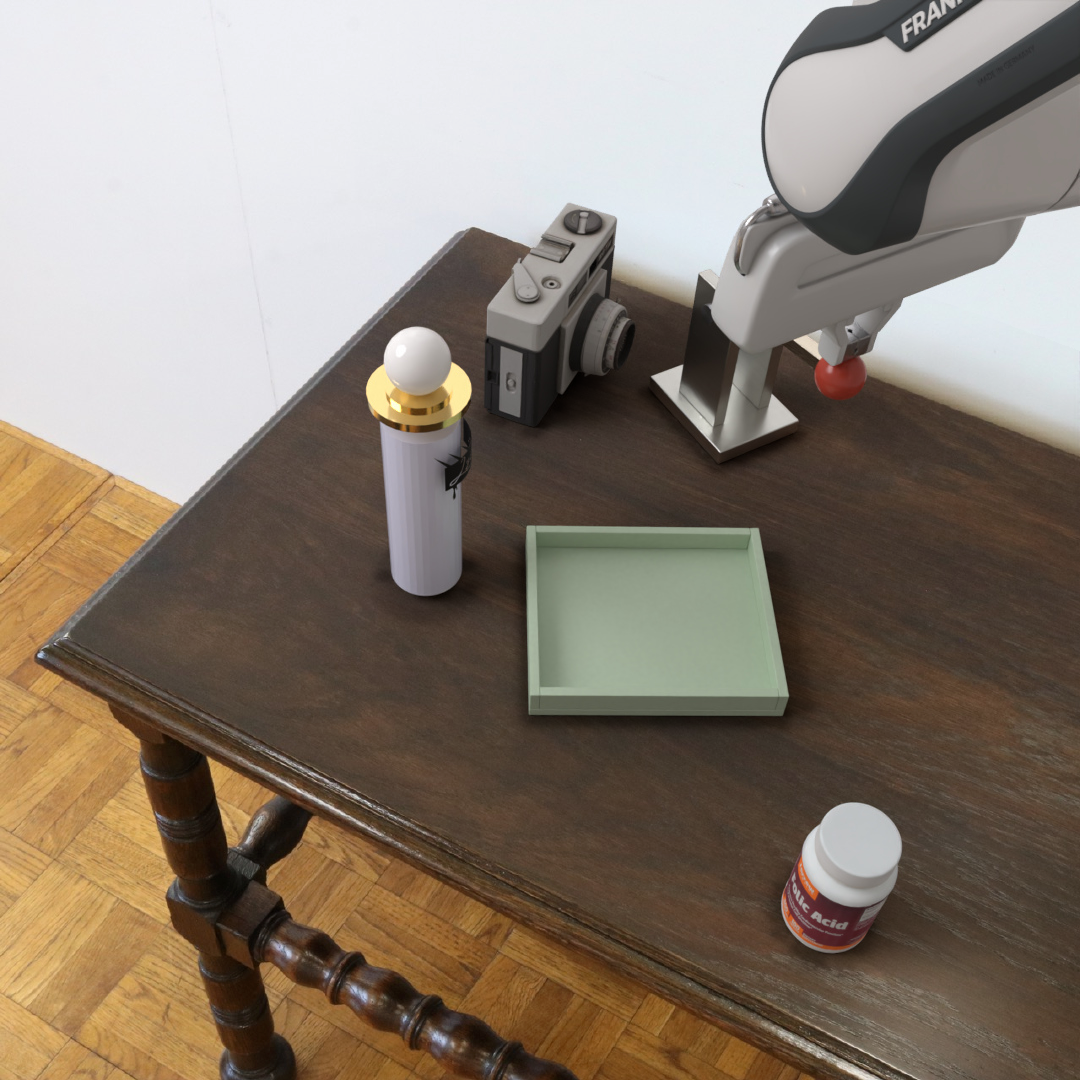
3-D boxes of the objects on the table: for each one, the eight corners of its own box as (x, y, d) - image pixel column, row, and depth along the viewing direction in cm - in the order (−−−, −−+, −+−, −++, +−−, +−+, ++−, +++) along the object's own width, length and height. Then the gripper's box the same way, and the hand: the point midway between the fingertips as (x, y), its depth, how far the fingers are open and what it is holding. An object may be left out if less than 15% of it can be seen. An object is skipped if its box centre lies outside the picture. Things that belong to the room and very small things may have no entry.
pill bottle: (761, 911, 67) (791, 836, 61) (816, 855, 70) (850, 777, 63) (833, 974, 65) (872, 903, 59) (887, 914, 67) (929, 839, 61)
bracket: (796, 432, 92) (831, 302, 83) (717, 464, 89) (745, 334, 80) (724, 359, 97) (749, 229, 88) (648, 388, 94) (666, 257, 85)
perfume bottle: (371, 601, 80) (347, 360, 65) (396, 535, 84) (379, 292, 68) (459, 618, 79) (456, 379, 64) (480, 550, 83) (482, 309, 68)
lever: (873, 400, 79) (881, 358, 77) (833, 416, 78) (840, 374, 76) (747, 305, 88) (751, 265, 86) (710, 319, 87) (713, 278, 85)
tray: (753, 548, 84) (758, 527, 82) (782, 716, 75) (789, 696, 74) (525, 546, 83) (526, 525, 82) (528, 715, 75) (530, 695, 73)
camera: (583, 447, 90) (593, 338, 82) (479, 410, 92) (480, 301, 84) (654, 333, 98) (669, 225, 91) (558, 302, 100) (564, 194, 93)
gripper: (783, 239, 62) (737, 440, 72) (1079, 138, 69) (999, 334, 80) (709, 173, 65) (675, 375, 76) (999, 84, 73) (931, 278, 83)
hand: (843, 353), depth 78 cm, fingers closed
